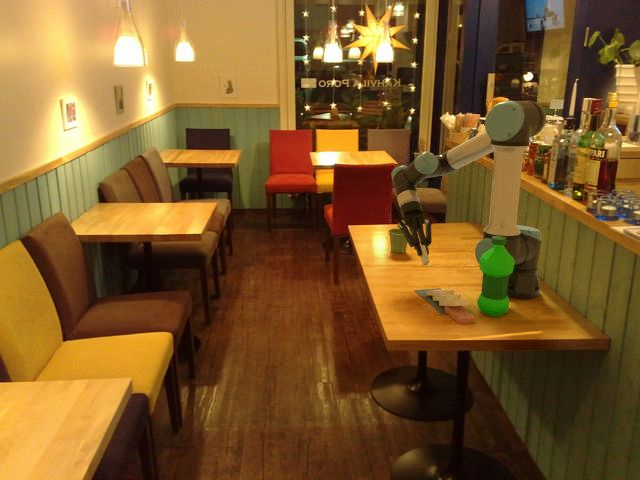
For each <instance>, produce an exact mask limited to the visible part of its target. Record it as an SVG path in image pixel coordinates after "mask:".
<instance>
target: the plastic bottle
mask: <svg viewBox="0 0 640 480" xmlns="http://www.w3.org/2000/svg"><path fill="white" fill-rule="evenodd" d="M492 244H493V248H491V249H490V250H488V251H487V252H485V253H484V254H482V256H481V259H480V264H479V270H480V271H481V272H482V280H481V281H482V282H481V283H482V284H481V293H480V294H479V296H478V298H477V307H478V309H479V311H481V312H482V313H483V314H484V315H486V316H490V317H500V316H503V315H504V314H506V313H507V312H508V310H509V308H510V297H508V296H507V289H508V278H509V275H510V274H511V273H512V272H513V269H514V259H513V257H512V256H511V255H510V254H509V253H508V252H507V251H506V250H505V249H504V245H506V237H504V236H492Z"/></svg>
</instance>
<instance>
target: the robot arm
mask: <svg viewBox="0 0 640 480" xmlns="http://www.w3.org/2000/svg"><path fill="white" fill-rule="evenodd" d="M546 115H547V114H546V112H545V109H544V108H543V107H542V106H541V105H540V104H539V103H538V102H536V101H533V100H506V101H502V102H498V103H497V104H495V105H494V106H492V107H491V108H490V109H489V111H488V112H487V114H486V115H485V116H486V117H485V119H484V128H485V129H484V130H485V131H483V132H481V133H479V134H477V135H475V136H474V137H472V138H470V139H468V140H466V141H464V142H462V143H461V144H458V145H457V146H455V147H452V148H451V149H448V150H447V151H445V152H444V153H441V154H439V155H435V154H434V153H432V152H430V151H424V152H422V153H421V154H420V155H418V156H417V157H415V159H414V160H413V161H411V162H410V164H408V165H400V166H398V167H395V168H394V169H392V171H391V180H392V185H393V187H394V190H395V194H396V199H397V202H398V207H399V210H400V214H401V217H402V219H401V220H399V222H398V223H397V228H398V229H401V230H402V232H403V234H404V236H405V238H406V240H407V242H408V243H407V245H408V246H409V247H410V248H414V250H416V253H417V256H418V257H420V260H421V264H422V266H428V265H429V263H430V259H429V254H430V251H429V246H430V245H431V244H432V241H433V239H432V224H433V220H432V219H426V216H425V215H424V213H423V207H422V203H421V200H420V198H419V193H418V191H417V186H418V185H420V184H421V183H422V182H423V181H425V180H426V179H428V178H435V177H440V176H441V177H443V176H449V175H452V174H455V173H456V172H457V171H458V169H461V168H462V167H465V166H466V165H469V164H471V163H472V162H473V163H474V162H475V161H477V160H479V159H480V158H483V157H485V156H488V155H489V154H491V153H493V152H494V154H493V155H494V157H493V168H492V180H491V193H490V205H489V206H490V207H489V219H488V225H486V226H485V227H484V228H483V232H482V239H480V240H479V242H477V244H476V246H475V249H474V256H475V259H476V261H477V263H478V264H479V265H480V259H481V256H482V254H484V253H485V252H487V251H488V250H490V249H491V248H493V244H492V236H504V237H506V245H504V249H505V250H506V251H507V252H508V253H509V254H510V255H511V256H512V257H513V259H514V269H513V272H512V273H511V274H510V275H509V278H508V289H507V296H508V298H514V299H519V300H520V299H521V300H522V299H523V300H525V299H526V300H527V299H528V300H529V299H530V300H531V299H535V298H538V297H539V296H540V294H541V293H540V292H541V286H540V280H539V276H538V275H539V274H538V269H539V268H538V267H539V262H540V261H539V260H540V253H541V246H542V242H543V240H542V239H543V237H542V236H543V234H542V231H541V230H540V229H539V228H535V227H531V226H526V225H520V224H518V223H517V222H518V213H519V202H520V190H521V181H522V180H521V179H522V170H523V169H522V168H523V159H524V158H523V157H524V152H525V151H526V150H527V149H528V148H529V147H530V141H531V138H532V137H535V136H537V135H538V134H540V132H541V131H542V130H543V129H544V127H545V125H546V120H547V116H546ZM424 226H425V230H424ZM409 231H410V232H411V233H410V232H409Z"/></svg>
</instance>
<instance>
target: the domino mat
mask: <svg viewBox="0 0 640 480" xmlns="http://www.w3.org/2000/svg"><path fill="white" fill-rule="evenodd" d="M428 290H443V289H442V288H440V287H435V288H426V289H425V288H424V289H413V291H414V293H416V294H417V295H418V296H419V297H420V298H422V300H423V301H425V302H426V303H427V304H428V305H429V306H431V307H432V308H433V309H434V310H435V311H436V312H437V313H438V314H439V315H440V316H450V315H449V314H448V313H447V312H446V311H444V310H445V306H439V301H433V296H430V295H427V293H426V291H428ZM462 307H463V308H464V309H465V310H467V311H468V312H469V313H470V314H472V312H471V311H469V310H468V309H467V308H466V307H464V305H462Z"/></svg>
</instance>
